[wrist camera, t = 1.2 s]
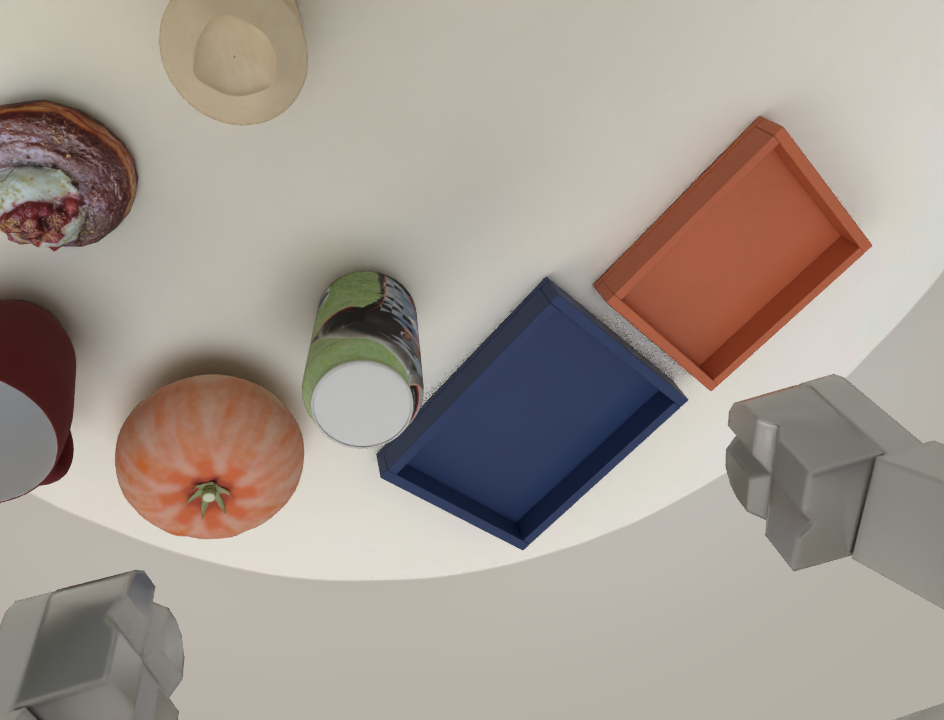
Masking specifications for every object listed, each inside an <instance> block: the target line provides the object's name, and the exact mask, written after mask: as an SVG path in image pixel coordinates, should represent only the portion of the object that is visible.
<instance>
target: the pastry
mask: <svg viewBox="0 0 944 720" xmlns="http://www.w3.org/2000/svg"><path fill="white" fill-rule="evenodd" d="M137 182H138V176H137V172H136V168H135V164H134V160H133V158H132V156H131V155H130V153H129V152H128V150H127V148H126V147H125V145H124V143H123V142H122V141H121V140H120V139H119V138H118V137H116V136H115V135H114V134H113V133H112V132H111V131H110V130H109V129H108V128H107V127H105V126H104V125H103V124H102V123H100V122H98V121H97V120H95V119H93V118H92V117H90V116H88V115H87V114H85V113H83V112H82V111H80V110H77V109H74V108H71V107H67V106H64V105H60V104H57V103H54V102H50V101H47V100H39V101H31V102H23V103H16V104H8V105H1V106H0V231H2V232H4V233H6V234H7V237H8V240H10V241H13V242H16V243H18V244H21V245H22V244H29V243H32V244H33V245H35V246H37V247H49V248H50V249H52V250H53V251H56V250H57V249H59V248H60V247H61V246H76V247H82V246H85V245H89V244H92V243H96V242H98V241H99V240H101V239H102V238H103V237H105V236H106V235H107V234H109V233H110V232H111V231H113V230H114V229H115V228H117V226H118V225H119V224H120V223H121V222H122V221H123V219H124V218H125V217H126V216H127V215H128V213H129V212H130V209H131V206H132V203H133V200H134V197H135V194H136V188H137Z"/></svg>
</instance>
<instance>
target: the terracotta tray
mask: <svg viewBox="0 0 944 720" xmlns="http://www.w3.org/2000/svg"><path fill="white" fill-rule="evenodd" d="M870 247H872V244H871V243H870V242H869V240H868V239H867V238H866V236H865V235H864V234H863V232H862V231H861V230H860V228H859V227H858V226H857V224H856V223H855V222H854V220H853V219H852V218H851V216H850V215H849V214H848V212H847V211H846V210H845V208H844V207H843V206H842V204H841V203H840V202H839V200H838V199H837V198H836V196H835V195H834V194H833V192H832V191H831V190H830V188H829V187H828V186H827V184H826V183H825V182H824V180H823V179H822V178H821V176H820V175H819V174H818V172H817V171H816V170H815V168H814V167H813V166H812V164H811V163H810V162H809V160H808V159H807V158H806V156H805V155H804V154H803V152H802V151H801V150H800V148H799V147H798V146H797V144H796V143H795V142H794V140H793V139H792V138H791V136H790V135H789V134H788V132H787V131H786V130H785V128H784V127H783V126H780V125H778V124H776V123H774V122H772V121H770V120H767V119H765V118H763V117H761V116H759V117H758V118H757V119H756V120H755V121H754V122H753V123H752V124H751V125H750V126H749V127H748V128H747V129H746V130H745V131H744V132H743V134H742V135H741V136H740V137H739V138H738V139H737V140H736V141H735V142H734V143H733V144H732V145H731V146H730V147H729V148H728V149H727V150H726V151H725V152H724V153H723V154H722V155H721V156H720V157H719V158H718V159H717V160H716V161H715V162H714V163H713V164H712V165H711V166H710V167H709V168H708V169H707V170H706V171H705V172H704V173H703V174H702V175H701V176H700V177H699V178H698V179H697V180H696V181H695V182H694V183H693V184H692V185H691V186H690V187H689V188H688V189H687V190H686V191H685V192H684V193H683V194H682V195H681V196H680V197H679V198H678V199H677V201H676V202H675V203H674V204H673V205H672V206H671V207H670V208H669V209H668V210H667V211H666V212H665V213H664V214H663V215H662V216H661V217H660V218H659V219H658V220H657V221H656V222H655V223H654V224H653V225H652V226H651V227H650V228H649V229H648V230H647V231H646V232H645V233H644V234H643V235H642V236H641V237H640V238H639V239H638V240H637V241H636V242H635V243H634V244H633V245H632V246H631V247H630V248H629V249H628V250H627V251H626V252H625V253H624V254H623V255H622V256H621V257H620V258H619V259H618V260H617V261H616V262H615V263H614V264H613V265H612V266H611V267H610V269H609V270H608V271H607V272H606V273H605V274H604V275H603V276H602V277H601V278H600V279H599V280H598V281H597V282H596V283H595V284H594V285H593V286H594V287H595V289H596V290H597V291H598V292H599V294H600V295H601V296H602V297H603V299H604V300H605V301H606V302H607V303H608V304H609V305H610V306H611V307H612V308H614V309H615V310H616V311H617V312H618V313H620V314H621V315H622V316H623V317H624V318H625V319H627V320H628V321H629V322H630V323H631V324H632V325H634V326H635V327H636V328H637V329H638V330H639V331H641V332H642V333H643V334H644V335H645V336H647V337H648V338H649V339H650V340H651V341H652V342H654V343H655V344H656V345H657V346H658V347H659V348H661V349H662V350H663V351H664V352H665V353H666V354H668V355H669V356H670V357H671V358H672V359H674V360H675V361H676V362H677V363H678V364H679V365H681V366H682V367H683V368H684V369H685V370H686V371H688V372H689V373H690V374H691V375H692V376H693V377H695V378H696V379H697V380H698V381H699V382H701V383H702V384H703V385H704V386H705V387H706V388H708V389H709V390H710V391H712V390H713V389H714V388H715V387H717V386H718V385H719V384H720V383H721V382H722V381H723V380H724V379H726V378H727V377H728V376H729V375H730V374H731V373H732V372H733V371H734V370H736V369H737V368H738V367H739V366H740V365H741V364H742V363H743V362H744V361H745V360H747V359H748V358H749V357H750V356H751V355H752V354H753V353H754V352H755V351H757V350H758V349H759V348H760V347H761V346H762V345H763V344H764V343H765V342H767V341H768V340H769V339H770V338H771V337H772V336H773V335H774V334H775V333H777V332H778V331H779V330H780V329H781V328H782V327H783V326H784V325H785V324H787V323H788V322H789V321H790V320H791V319H792V318H793V317H794V316H795V315H796V314H798V313H799V312H800V311H801V310H802V309H803V308H804V307H805V306H806V305H808V304H809V303H810V302H811V301H812V300H813V299H814V298H815V297H816V296H818V295H819V294H820V293H821V292H822V291H823V290H824V289H825V288H826V287H828V286H829V285H830V284H831V283H832V282H833V281H834V280H835V279H836V278H838V277H839V276H840V275H841V274H842V273H843V272H844V271H845V270H846V269H847V268H849V267H850V266H851V265H852V264H853V263H854V262H855V261H856V260H857V259H859V258H860V257H861V256H862V255H863V254H864V253H865V252H866V251H867V250H868V249H869V248H870Z"/></svg>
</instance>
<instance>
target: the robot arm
mask: <svg viewBox="0 0 944 720" xmlns="http://www.w3.org/2000/svg"><path fill="white" fill-rule="evenodd" d="M728 426H729V427H730V429H731V430H732V431H733V432H734V433H735V434H736V437H735V438H734V439H733V441H732V442H731V443H730V445H729V446H728V447H727V449H726V470H727V474H728V478H729V481H730V485H731V487H732V489H733V491H734V493H735V494H736V497H737V498H738V500H739V501H740V503H741V504H742V505H743V506H744V508H745V509H746V511H747V512H749V513H751V514H754V515H756V516H758V517H760V518H763V519H765V520H767V521H766V532H765V535H766V537H767V538H768V539H769V541H770V542H771V543H772V544H773V546H774V547H775V548H776V549H777V551H778V552H779V553H780V554H781V556H782V557H783V558H784V560H785V561H786V562H787V564H788V565H789V566H790V567H791V569H792V570H793V571H797V570H800V569H804V568H808V567H811V566H815V565H819V564H822V563H826V562H829V561H833V560H836V559H840V558H844V557H847V556H851V555H853V556H852V559H854V560H856V561H857V562H859V563H861V564H863V565H865V566H867V567H868V568H870V569H872V570H874V571H875V572H877V573H879V574H881V575H883V576H885V577H886V578H888V579H890V580H892V581H894V582H895V583H897V584H899V585H901V586H902V587H904V588H906V589H908V590H910V591H911V592H913V593H915V594H917V595H919V596H921V597H922V598H924V599H926V600H928V601H930V602H931V603H933V604H935V605H937V606H939V607H940V608H942V609H944V444H942V443H939V442H936V441H931V442H927V443H922V442H920V441H919V440H918V439H917V438H916V437H915V436H913V435H912V434H911V433H910V432H909V431H907V430H906V429H905V428H904V427H903V426H901V425H900V424H899V423H898V422H897V421H895V420H894V419H893V418H892V417H891V416H889V415H888V414H887V413H886V412H885V411H883V410H882V409H881V408H880V407H879V406H877V405H876V404H875V403H874V402H873V401H871V400H870V399H869V398H868V397H866V396H865V395H864V394H863V393H862V392H861V391H859V390H858V389H857V388H856V387H855V386H854V385H852V384H851V383H850V382H849V381H847V380H846V379H845V378H844V377H841V376H838V375H835V374H832V375H829V376H825V377H822V378H818V379H815V380H811V381H808V382H805V383H801V384H800V385H795V386H791V387H788V388H784V389H781V390H778V391H774V392H771V393H767V394H764V395H760V396H757V397H753V398H750V399H746V400H743V401H739V402H736V403H734V404H733V406H732V407H731V409H730V411H729V420H728ZM154 591H155V586H154V584H153V583H152V581H151V580H150V579H149V577H148V576H147V574H146V573H145V572H144V571H141V570H133V571H130V572H125V573H122V574H118V575H114V576H110V577H106V578H102V579H98V580H94V581H90V582H86V583H82V584H78V585H74V586H70V587H67V588H62V589H59V590H56V591H55V592H51V593H46V594H42V595H38V596H34V597H30V598H26V599H22V600H18V601H15V603H14V604H13V605H12V606H11V607H10V608H9V609H8V610H7V611H6V613H5V614H4V617H3V620H2V622H1V625H0V720H178V714H179V711H178V710H177V708H176V707H175V706H174V704H173V703H172V701H171V700H170V698H169V697H170V696H171V694H172V693H173V692H174V690H175V689H176V687H177V686H178V685H179V683H180V682H181V680H182V677H183V667H184V652H183V643H182V635H181V632H180V630H179V627H178V624H177V621H176V619H175V618H174V616H173V614H172V612H171V611H170V609H169V608H167V607H165V606H162V605H159V604H157V603H154V602H153V597H154ZM895 720H944V703H942V704H939V705H936V706H933V707H930V708H927V709H924V710H921V711H918V712H915V713H912V714H909V715H906V716H904V717H900V718H898V719H895Z"/></svg>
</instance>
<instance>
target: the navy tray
mask: <svg viewBox="0 0 944 720" xmlns="http://www.w3.org/2000/svg"><path fill="white" fill-rule="evenodd" d="M687 401H688V399H687V397H686V396H685V395H684V394H683V392H682V391H681V390H680V389H679V388H678V386H677V385H676V384H675V383H674V381H673V380H671V379H670V378H669V377H668V376H666V375H665V374H664V373H663V372H662V371H660V370H659V369H658V368H657V367H656V366H654V365H653V364H652V363H651V362H650V361H648V360H647V359H646V358H645V357H643V356H642V355H641V354H640V353H639V352H637V351H636V350H635V349H634V348H633V347H631V346H630V345H629V344H628V343H626V342H625V341H624V340H623V339H622V338H620V337H619V336H618V335H617V334H616V333H614V332H613V331H612V330H611V329H609V328H608V327H607V326H606V325H605V324H603V323H602V322H601V321H600V320H599V319H597V318H596V317H595V316H594V315H592V314H591V313H590V312H589V311H588V310H586V309H585V308H584V307H583V306H582V305H580V304H579V303H578V302H577V301H575V300H574V299H573V298H572V297H571V296H569V295H568V294H567V293H566V292H565V291H563V290H562V289H561V288H560V287H559V286H557V285H556V284H555V283H554V282H552V281H551V280H550V279H549V278H548V277H546V278H545V279H544V280H543V281H542V282H541V283H540V284H539V285H538V286H537V287H536V288H535V289H534V290H533V291H532V293H531V294H530V295H529V296H528V297H527V298H526V299H525V300H524V301H523V302H522V303H521V304H520V305H519V306H518V307H517V308H516V309H515V310H514V311H513V312H512V313H511V314H510V315H509V317H508V318H507V319H506V320H505V321H504V322H503V323H502V324H501V325H500V326H499V327H498V328H497V329H496V330H495V331H494V332H493V333H492V334H491V335H490V336H489V337H488V338H487V340H486V341H485V342H484V343H483V344H482V345H481V346H480V347H479V348H478V349H477V350H476V351H475V352H474V353H473V354H472V355H471V356H470V357H469V358H468V359H467V360H466V361H465V363H464V364H463V365H462V366H461V367H460V368H459V369H458V370H457V371H456V372H455V373H454V374H453V375H452V376H451V377H450V378H449V379H448V380H447V381H446V382H445V383H444V384H443V386H442V387H441V388H440V389H439V390H438V391H437V392H436V393H435V394H434V395H433V396H432V397H431V398H430V399H429V400H428V401H427V402H426V403H425V404H424V405H423V406H422V407H421V409H420V410H419V411H418V413H417V415H416V417H415V418H414V420H413V421H412V422H411V423H410V424H409V425H408V426H407V427H406V428H405V430H404V431H403V432H402V433H401V434H400V435H399V436H398V437H396V438H395V439H394V440H392V441H390V442H388V443H387V444H386V445H385V446H384V447H383V448H382V449H381V450H380V451H379V452H378V453H377V460H378V466H379V471H380V477H381V478H383V479H384V480H386V481H388V482H390V483H392V484H394V485H396V486H398V487H400V488H402V489H404V490H406V491H408V492H410V493H412V494H414V495H416V496H418V497H420V498H422V499H424V500H425V501H427V502H429V503H431V504H433V505H435V506H437V507H439V508H441V509H443V510H445V511H447V512H449V513H451V514H453V515H455V516H457V517H459V518H461V519H463V520H465V521H467V522H468V523H470V524H472V525H474V526H476V527H478V528H480V529H482V530H484V531H486V532H488V533H490V534H492V535H494V536H496V537H498V538H500V539H502V540H504V541H506V542H508V543H509V544H511V545H513V546H515V547H517V548H519V549H521V550H524V549H525V548H526V547H527V546H528V545H529V544H530V543H532V542H533V541H534V540H535V539H536V538H537V537H538V536H539V535H540V534H541V533H543V532H544V531H545V530H546V529H547V528H548V527H549V526H550V525H551V524H552V523H554V522H555V521H556V520H557V519H558V518H559V517H560V516H561V515H562V514H564V513H565V512H566V511H567V510H568V509H569V508H570V507H571V506H572V505H573V504H575V503H576V502H577V501H578V500H579V499H580V498H581V497H582V496H583V495H584V494H586V493H587V492H588V491H589V490H590V489H591V488H592V487H593V486H594V485H595V484H597V483H598V482H599V481H600V480H601V479H602V478H603V477H604V476H605V475H606V474H608V473H609V472H610V471H611V470H612V469H613V468H614V467H615V466H616V465H617V464H619V463H620V462H621V461H622V460H623V459H624V458H625V457H626V456H627V455H628V454H630V453H631V452H632V451H633V450H634V449H635V448H636V447H637V446H638V445H639V444H641V443H642V442H643V441H644V440H645V439H646V438H647V437H648V436H649V435H651V434H652V433H653V432H654V431H655V430H656V429H657V428H658V427H659V426H660V425H662V424H663V423H664V422H665V421H666V420H667V419H668V418H669V417H670V416H671V415H673V414H674V413H675V412H676V411H677V410H678V409H679V408H680V407H681V406H682V405H684V404H685V403H686V402H687Z"/></svg>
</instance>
